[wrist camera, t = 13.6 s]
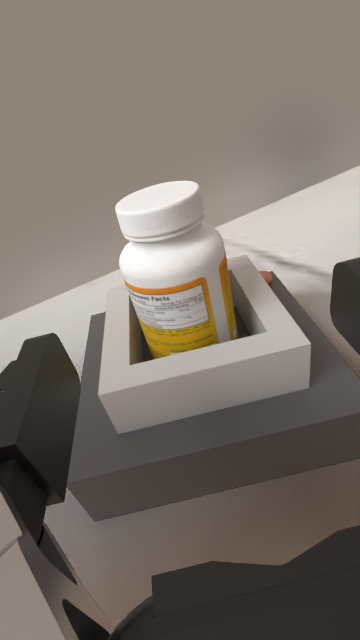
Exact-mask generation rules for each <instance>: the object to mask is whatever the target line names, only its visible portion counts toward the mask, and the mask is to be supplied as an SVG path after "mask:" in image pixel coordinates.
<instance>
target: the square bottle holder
mask: <svg viewBox="0 0 360 640" xmlns="http://www.w3.org/2000/svg"><path fill="white" fill-rule="evenodd" d="M227 266H228V273H229V280H230V287H231V294H232V301H233V307H234V314H235V321H236V327H237V333H238V339H236V340H232V341H228V342H224V343H220V344H216V345H211V346H207V347H203V348H199V349H195V350H191V351H187V352H183V353H179V354H175V355H170V356H166V357H162V358H158V359H153V357H152V355H151V352H150V349H149V346H148V344H147V341H146V338H145V335H144V333H143V330H142V327H141V324H140V322H139V319H138V316H137V314H136V311H135V308H134V306H133V303H132V300H131V298H130V295H129V292H128V290H127V287H126V285H122V286H118V287H114V288H110V289H108V295H107V306H106V312H104V313H100V314H96V315H92V316H91V321H90V327H89V333H88V339H87V346H86V352H85V358H84V364H83V371H82V377H81V383H80V385H81V393H80V400H79V406H78V413H77V420H76V426H75V433H74V440H73V446H72V453H71V459H70V466H69V473H68V479H67V487H68V488H69V490H70V491H71V492H72V494H73V495H74V496H75V497H76V499H77V500H78V501H79V502H80V504H81V505H82V506H83V507H84V509H85V510H86V511H87V512H88V514H89V515H90V516H91V517H92V519H93V520H94V521H99V520H103V519H107V518H111V517H115V516H120V515H124V514H128V513H132V512H136V511H140V510H145V509H149V508H153V507H157V506H161V505H165V504H170V503H174V502H178V501H182V500H186V499H191V498H195V497H199V496H203V495H207V494H211V493H216V492H220V491H224V490H228V489H232V488H236V487H241V486H245V485H249V484H253V483H257V482H261V481H266V480H270V479H274V478H278V477H282V476H287V475H291V474H295V473H299V472H303V471H307V470H312V469H316V468H320V467H324V466H328V465H332V464H337V463H341V462H345V461H349V460H353V459H357V458H360V379H359V378H358V377H357V375H356V374H355V373H354V372H353V370H352V369H351V368H350V367H349V365H348V364H347V363H346V362H345V361H344V359H343V358H342V357H341V356H340V354H339V353H338V352H337V351H336V349H335V348H334V347H333V346H332V344H331V343H330V342H329V341H328V339H327V338H326V337H325V336H324V335H323V333H322V332H321V331H320V330H319V328H318V327H317V326H316V325H315V323H314V322H313V321H312V320H311V318H310V317H309V316H308V315H307V313H306V312H305V311H304V310H303V309H302V307H301V306H300V305H299V304H298V302H297V301H296V300H295V299H294V297H293V296H292V295H291V294H290V292H289V291H288V290H287V289H286V287H285V286H284V285H283V284H282V283H281V281H280V280H279V279H278V278H277V276H276V275H275V274H274V273H273V271H271V272H266V271H259V272H258V270H257V269H256V268H255V266H254V265H253V263H252V262H251V261H250V259H249V258H248V257H247V255H244V256H240V257H236V258H232V259H228V260H227Z"/></svg>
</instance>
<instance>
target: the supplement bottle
mask: <svg viewBox="0 0 360 640" xmlns="http://www.w3.org/2000/svg"><path fill="white" fill-rule="evenodd" d="M115 210H116V214H117V217H118V220H119V224H120V227H121V231H122V233H123V235H124V237H125V238H126V239H128V240H130V242H129V243H128V244H127V245H126V246H125V248H124V249H123V251H122V253H121V255H120V260H119V264H120V270H121V273H122V276H123V279H124V282H125V284H126V287H127V290H128V292H129V295H130V298H131V300H132V303H133V306H134V308H135V311H136V314H137V316H138V319H139V322H140V324H141V327H142V330H143V333H144V335H145V338H146V341H147V344H148V346H149V349H150V352H151V355H152V357H153V359H158V358H162V357H166V356H170V355H175V354H179V353H183V352H187V351H191V350H195V349H199V348H203V347H207V346H211V345H216V344H220V343H224V342H228V341H232V340H236V339H238V333H237V327H236V321H235V314H234V307H233V301H232V294H231V287H230V280H229V273H228V266H227V258H226V253H225V248H224V243H223V240H222V237H221V235H220V234H219V232H218V231H217V230H216V229H214V228H213V227H211V226H210V225H207V224H205V223H201V222H202V220H203V219H204V216H205V215H204V205H203V201H202V197H201V191H200V187H199V185H198V184H197V183H195V182H192V181H175V182H167V183H162V184H157V185H154V186H150V187H147V188H144V189H142V190H139V191H136V192H134V193H132V194H130V195H128V196H126V197H125V198H123V199H122V200H120V201H119V202H118V203H117V205H116V207H115Z"/></svg>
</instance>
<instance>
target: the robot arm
mask: <svg viewBox="0 0 360 640" xmlns="http://www.w3.org/2000/svg"><path fill="white" fill-rule="evenodd" d="M330 314H331V318H332V321H333V324H334V326H335V328H336V329H337V330H338V331H339V333H340V334H341V335H342V336H343V337H344V338H345V339H346V340H347V342H348V343H349V344H350V345H351V346H352V347H353V348H354V349H355V351H356V352H357V353H358V354H359V355H360V258H356V259H352V260H347V261H343V262H339V263H337V264H336V265H335V267H334V269H333V278H332V291H331V304H330ZM80 393H81V385H80V379H79V376H78V373H77V371H76V369H75V367H74V365H73V363H72V361H71V359H70V358H69V356H68V354H67V352H66V350H65V348H64V347H63V345H62V343H61V341H60V339H59V338H58V336H57V335H56V334H54V333H50V334H46V335H42V336H38V337H34V338H30V339H27V340H25V341H24V343H23V345H22V348H21V350H20V353H19V355H18V358H17V360H15V361H11V362H10V363H9V365H8V366H7V367H6V368H5V369H4V370H3V371H2V373H1V374H0V640H360V525H359V526H355V527H351V528H347V529H343V530H339V531H337V532H335V533H334V534H332V535H331V536H329V537H328V538H326V539H324V540H323V541H321V542H320V543H318V544H316V545H315V546H313V547H312V548H310V549H309V550H307V551H305V552H304V553H302V554H301V555H299V556H298V557H296V558H294V559H293V560H291V561H290V562H288V563H286V564H284V565H280V566H272V565H258V564H244V563H230V562H216V561H211V562H207V563H203V564H199V565H195V566H191V567H186V568H182V569H178V570H174V571H170V572H166V573H162V574H158V575H154V576H152V596H151V597H149V598H147V599H146V600H145V601H143V602H142V603H141V604H140V605H138V606H137V607H136V608H135V609H133V610H132V611H131V612H130V613H129V614H128V615H127V616H126V617H125V618H124V619H123V620H122V621H121V622H120V623H119V625H118V626H117V627H116V628H114V627H113V625H112V624H111V622H110V620H109V619H108V618H107V616H106V615H105V613H104V612H103V610H102V609H101V608H100V607H99V605H98V604H97V603H96V602H95V600H94V599H93V598H92V597H91V595H90V594H89V593H88V591H87V590H86V588H85V587H84V585H83V584H82V582H81V580H80V579H79V577H78V575H77V574H76V572H75V570H74V569H73V567H72V566H71V564H70V562H69V561H68V559H67V557H66V556H65V554H64V552H63V551H62V549H61V547H60V546H59V544H58V543H57V541H56V539H55V538H54V536H53V534H52V533H51V531H50V529H49V528H48V526H47V525H46V524H45V522H44V521H43V520H44V515H45V510H46V506H49V505H53V504H57V503H61V502H64V499H65V493H66V486H67V479H68V473H69V466H70V459H71V453H72V446H73V440H74V433H75V426H76V420H77V413H78V406H79V400H80Z"/></svg>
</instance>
